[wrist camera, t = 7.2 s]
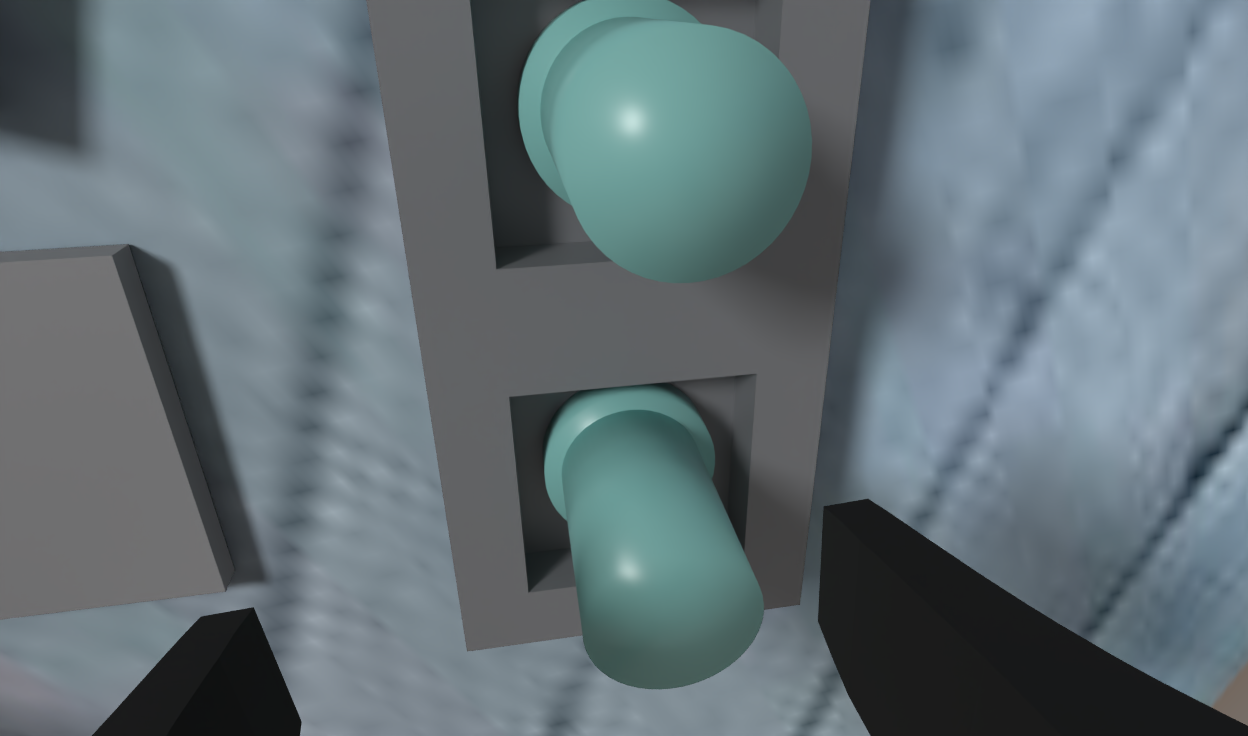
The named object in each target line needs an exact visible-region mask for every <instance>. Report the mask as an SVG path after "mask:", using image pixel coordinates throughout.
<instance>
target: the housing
mask: <svg viewBox="0 0 1248 736" xmlns="http://www.w3.org/2000/svg"><path fill="white" fill-rule="evenodd" d="M366 1H367V7H368V14H369V20H370V27H371V33H372V40H373V46H374V53H375V59H376V66H377V72H378V78H379V85H380V91H381V98H382V104H383V111H384V117H385V124H386V130H387V137H388V143H389V150H390V156H391V162H392V169H393V175H394V182H395V188H396V195H397V201H398V208H399V214H400V221H401V227H402V234H403V240H404V246H405V253H406V259H407V266H408V272H409V279H410V285H411V292H412V298H413V305H414V311H415V318H416V324H417V330H418V337H419V343H420V350H421V356H422V363H423V369H424V376H425V382H426V389H427V395H428V401H429V408H430V414H431V421H432V427H433V434H434V440H435V447H436V453H437V460H438V466H439V473H440V479H441V485H442V492H443V498H444V505H445V511H446V518H447V524H448V531H449V537H450V544H451V550H452V557H453V563H454V569H455V576H456V582H457V589H458V595H459V602H460V608H461V615H462V621H463V628H464V634H465V641H466V647H467V651H474V650H481V649H488V648H496V647H503V646H510V645H517V644H524V643H531V642H538V641H545V640H552V639H559V638H567V637H574V636H581V635H583V634H582V627H581V619H580V612H579V604H578V597H577V589H576V582H575V575H574V567H573V560H572V552H571V545H570V537H569V530H568V522H567V521H566V520H565V519H564V518H563V517H562V516H561V515H560V514H559V513H558V511H557V510H556V508H555V507H554V505H553V504H552V502H551V500H550V498H549V495H548V492H547V489H546V483H545V475H544V464H543V442H544V436H545V433H546V430H547V428H548V425H549V423H550V421H551V419H552V418H553V416H554V415H555V413H556V412H557V410H558V409H559V408H560V407H561V406H562V405H563V404H564V402H565V401H567V400H568V399H569V398H570V397H571V396H572V395H574V394H575V393H577V392H578V391H580V390H588V389H599V388H609V387H620V386H630V385H641V384H652V383H662V382H667V383H669V384H671V385H673V386H674V387H676V388H678V389H679V390H680V391H682V392H683V393H684V394H685V395H686V396H687V397H688V398H689V399H690V400H691V401H692V402H693V404H694V405H695V407H696V408H697V410H698V412H699V414H700V416H701V418H702V420H703V422H704V424H705V426H706V428H707V430H708V432H709V434H710V436H711V439H712V442H713V445H714V451H715V467H714V474H713V477H712V481H713V483H714V486H715V488H716V490H717V492H718V495H719V497H720V499H721V501H722V504H723V506H724V508H725V510H726V513H727V515H728V517H729V519H730V521H731V524H732V526H733V528H734V530H735V533H736V535H737V537H738V539H739V542H740V544H741V546H742V548H743V551H744V553H745V555H746V557H747V560H748V562H749V564H750V566H751V569H752V571H753V573H754V575H755V577H756V580H757V582H758V584H759V586H760V589H761V592H762V595H763V602H764V610H765V609H772V608H779V607H787V606H794V605H800V598H801V589H802V581H803V572H804V564H805V555H806V547H807V538H808V530H809V521H810V513H811V504H812V496H813V487H814V479H815V470H816V461H817V453H818V444H819V436H820V427H821V419H822V410H823V402H824V393H825V385H826V376H827V368H828V359H829V350H830V342H831V333H832V325H833V316H834V308H835V299H836V291H837V282H838V274H839V265H840V257H841V248H842V239H843V231H844V222H845V214H846V205H847V197H848V188H849V180H850V171H851V163H852V154H853V146H854V137H855V128H856V120H857V111H858V103H859V94H860V86H861V77H862V69H863V60H864V52H865V43H866V35H867V26H868V17H869V9H870V0H668V1H670V2H672V3H674V4H676V5H678V6H679V7H681V8H683V9H684V10H686V11H687V12H688V13H690V14H691V15H692V16H694V17H695V18H696V19H697V20H698V21H699V22H700V23H701V24H705V25H713V26H718V27H723V28H728V29H731V30H734V31H736V32H739V33H742V34H745V35H746V36H748V37H750V38H752V39H754V40H756V41H757V42H759V43H760V44H762V45H763V46H764V47H766V48H767V49H768V50H770V51H771V52H772V53H773V54H774V55H775V56H776V57H777V58H778V59H779V60H780V61H781V62H782V63H783V64H784V65H785V67H786V68H787V69H788V71H789V72H790V74H791V75H792V76H793V78H794V80H795V81H796V83H797V85H798V87H799V89H800V91H801V93H802V96H803V98H804V101H805V104H806V107H807V110H808V115H809V119H810V124H811V134H812V158H811V164H810V171H809V176H808V179H807V183H806V187H805V190H804V192H803V195H802V197H801V200H800V202H799V205H798V207H797V208H796V210H795V212H794V214H793V216H792V218H791V219H790V221H789V222H788V224H787V225H786V226H785V228H784V229H783V231H782V232H781V233H780V234H779V236H778V237H777V238H776V239H775V240H774V241H773V242H772V243H771V244H770V245H769V246H768V247H767V248H766V249H765V250H764V251H763V252H762V253H760V254H759V255H758V256H757V257H755V258H754V259H752V260H751V261H750V262H748V263H747V264H745V265H743V266H741V267H740V268H738V269H736V270H734V271H732V272H730V273H727V274H725V275H722V276H720V277H717V278H713V279H709V280H706V281H700V282H693V283H668V282H659V281H655V280H651V279H647V278H644V277H641V276H639V275H636V274H634V273H631V272H629V271H628V270H626V269H624V268H622V267H621V266H619V265H617V264H616V263H615V262H613V261H612V260H611V259H609V258H608V257H607V256H606V255H605V254H604V253H603V252H602V251H601V250H600V249H599V248H598V247H597V246H596V245H595V244H594V243H593V242H592V240H591V239H590V238H589V236H588V235H587V234H586V232H585V231H584V229H583V227H582V225H581V224H580V222H579V220H578V218H577V216H576V213H575V211H574V209H573V206H572V205H570V204H568V203H567V202H565V201H564V200H563V199H562V198H560V197H559V196H558V195H557V194H555V193H554V191H553V190H552V189H551V188H550V187H549V186H548V185H547V184H546V183H545V182H544V180H543V179H542V178H541V176H540V175H539V174H538V172H537V171H536V169H535V167H534V165H533V164H532V162H531V160H530V157H529V155H528V152H527V150H526V148H525V144H524V141H523V137H522V133H521V130H520V126H519V119H518V112H517V93H518V84H519V79H520V75H521V71H522V67H523V65H524V62H525V59H526V57H527V54H528V52H529V50H530V49H531V47H532V45H533V43H534V41H535V40H536V39H537V37H538V36H539V34H540V33H541V32H542V30H543V29H544V28H545V27H546V26H547V25H548V24H549V23H550V22H551V21H552V20H553V19H554V18H555V17H556V16H558V15H559V14H560V13H561V12H563V11H564V10H565V9H567V8H569V7H570V6H572V5H574V4H576V3H578V2H580V1H582V0H366Z"/></svg>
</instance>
